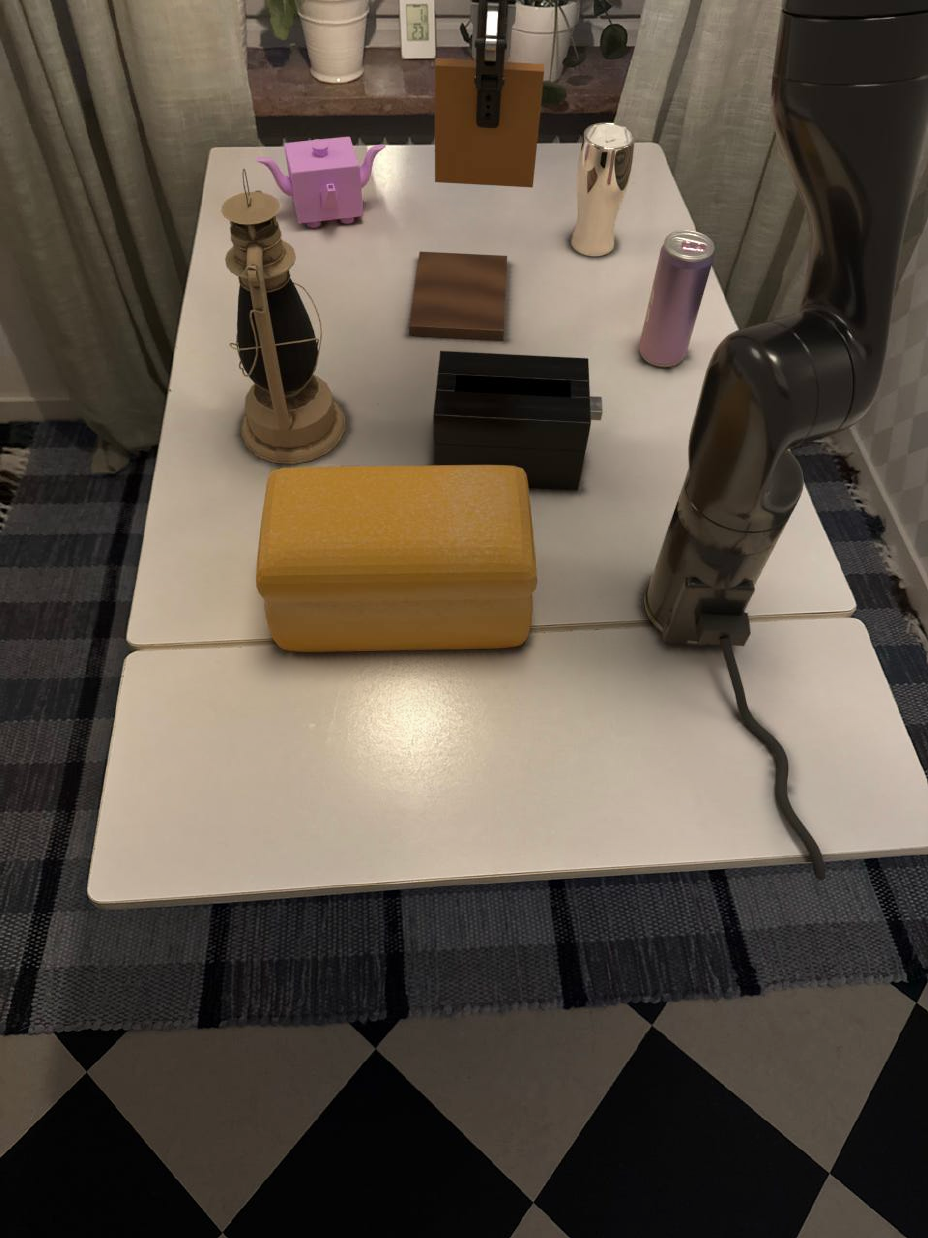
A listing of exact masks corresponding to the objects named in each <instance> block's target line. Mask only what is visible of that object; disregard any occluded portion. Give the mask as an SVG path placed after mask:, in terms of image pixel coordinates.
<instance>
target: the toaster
mask: <svg viewBox="0 0 928 1238" xmlns="http://www.w3.org/2000/svg"><path fill="white" fill-rule="evenodd" d="M437 367H438V369H437V376H436V386H435V394H434V395H435V396H434V404H433V413H432V416H433V417H432V421H433V422H432V423H433V425H432V426H433V429H432V430H433V466H436V465H506V466H516V467H519V468H523V470H524V471H525V473H526V475H527V481H528V489H543V490H544V489H545V490H564V491H579V488H580V483H581V478H582V473H583V469H584V463H585V457H586V452H587V448H588V447H587V446H588V441H589V437H590V431H591V425H592V421H602V417H603V412H604V411H603V397H602V396H593V395H591V389H590V364H589V358H588V357H569V356H550V355H534V354H533V355H530V354H511V353H493V352H492V353H491V352H476V351H475V352H473V351H456V350H455V351H454V350H452V351H451V350H440V351H439V358H438V365H437Z"/></svg>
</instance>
